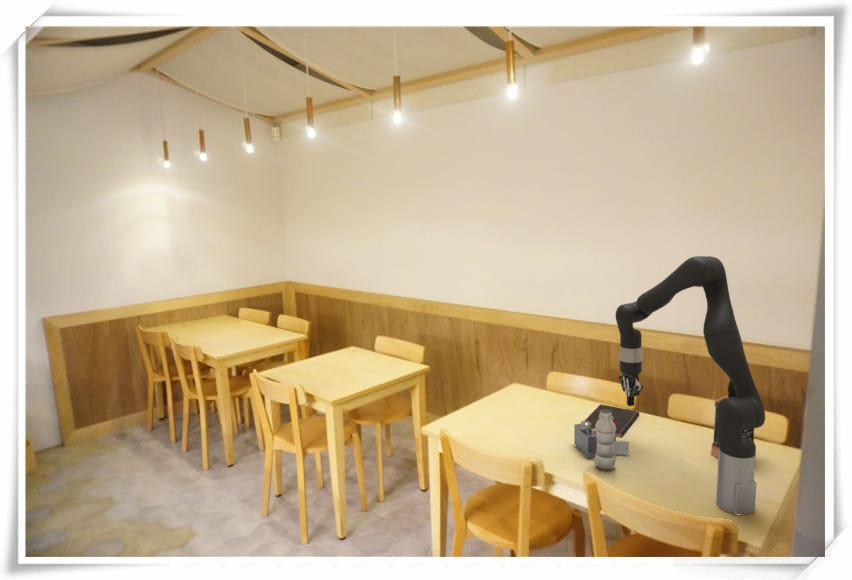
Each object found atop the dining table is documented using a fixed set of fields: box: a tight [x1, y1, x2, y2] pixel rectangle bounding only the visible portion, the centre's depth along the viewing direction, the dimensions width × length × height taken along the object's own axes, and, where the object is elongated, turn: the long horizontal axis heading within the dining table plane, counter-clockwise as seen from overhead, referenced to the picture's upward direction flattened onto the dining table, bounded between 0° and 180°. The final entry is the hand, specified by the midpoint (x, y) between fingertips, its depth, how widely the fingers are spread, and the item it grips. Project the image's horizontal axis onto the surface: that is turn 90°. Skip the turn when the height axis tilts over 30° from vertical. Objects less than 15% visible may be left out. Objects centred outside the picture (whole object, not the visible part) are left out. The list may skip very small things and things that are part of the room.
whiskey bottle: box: [710, 379, 755, 459], centre depth 185 cm, size 10×10×32 cm
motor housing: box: [573, 420, 630, 460], centre depth 198 cm, size 15×14×11 cm
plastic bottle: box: [594, 410, 616, 471], centre depth 184 cm, size 6×7×20 cm
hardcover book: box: [584, 403, 640, 438], centre depth 220 cm, size 16×23×2 cm
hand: (630, 405), depth 197 cm, fingers closed
